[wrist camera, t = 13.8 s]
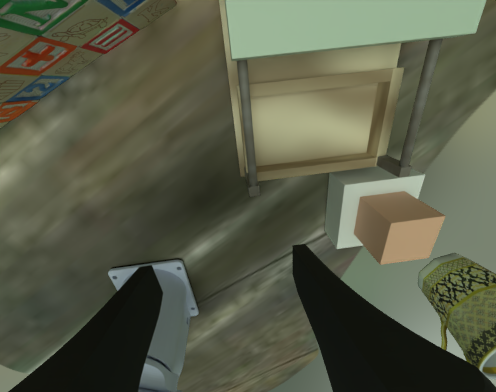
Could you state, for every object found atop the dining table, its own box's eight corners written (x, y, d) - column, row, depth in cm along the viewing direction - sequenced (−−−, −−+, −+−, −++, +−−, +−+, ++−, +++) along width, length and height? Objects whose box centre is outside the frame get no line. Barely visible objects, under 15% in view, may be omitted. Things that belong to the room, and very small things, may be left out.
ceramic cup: (447, 232, 26) (562, 309, 17) (494, 256, 29) (613, 333, 20) (374, 300, 31) (434, 387, 22) (420, 314, 34) (490, 397, 25)
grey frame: (376, 158, 20) (414, 176, 16) (240, 175, 20) (244, 198, 16) (413, -38, 14) (489, -86, 10) (216, -20, 14) (212, -62, 10)
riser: (385, 222, 24) (405, 239, 22) (324, 230, 24) (336, 248, 21) (400, 163, 21) (425, 174, 18) (329, 172, 21) (344, 185, 18)
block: (394, 228, 21) (428, 257, 17) (353, 233, 21) (380, 264, 17) (404, 191, 19) (445, 216, 15) (359, 196, 19) (391, 223, 15)
